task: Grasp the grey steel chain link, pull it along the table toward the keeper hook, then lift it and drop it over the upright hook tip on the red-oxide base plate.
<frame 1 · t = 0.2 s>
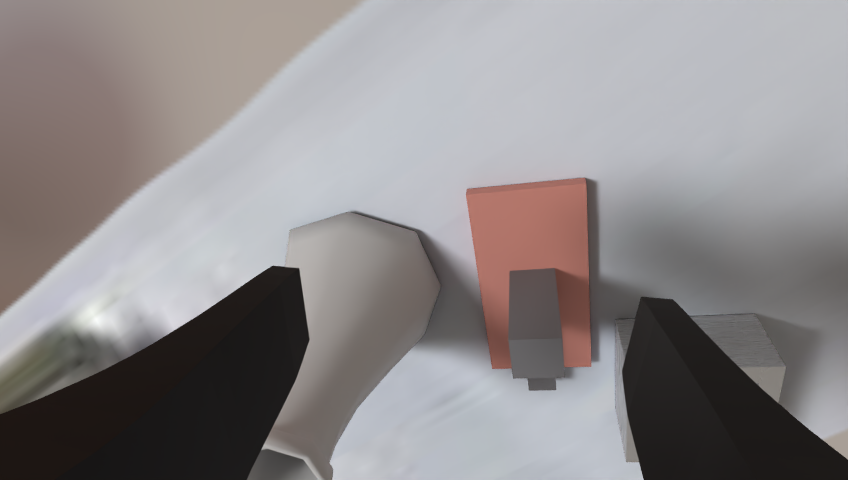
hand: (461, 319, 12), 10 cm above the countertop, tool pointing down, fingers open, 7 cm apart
link: (679, 364, 24), on the countertop
keeper hook: (533, 280, 23), on the countertop
flask: (362, 277, 24), on the countertop
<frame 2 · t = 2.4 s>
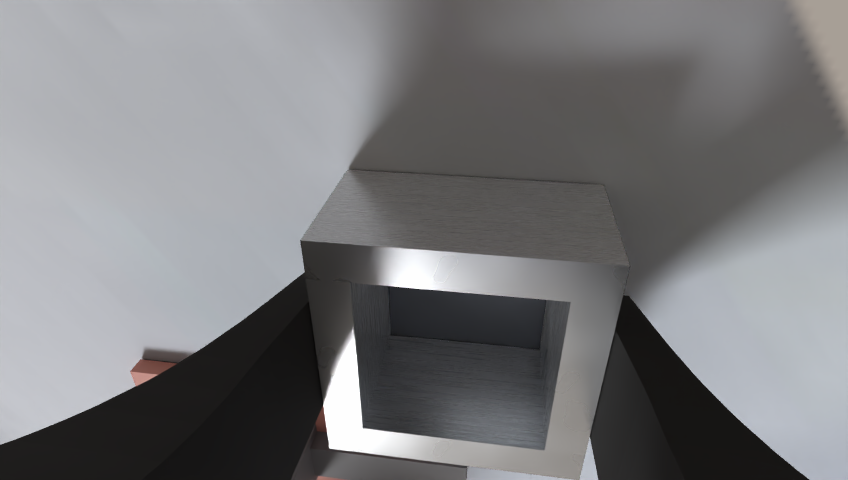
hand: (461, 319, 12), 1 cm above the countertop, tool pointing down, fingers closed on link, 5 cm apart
link: (466, 281, 13), on the countertop, touching gripper
keeper hook: (295, 427, 16), on the countertop
when the fingers open (4 cm above the countertop, at t = 6.6 s): link drops 1 cm, resting on keeper hook.
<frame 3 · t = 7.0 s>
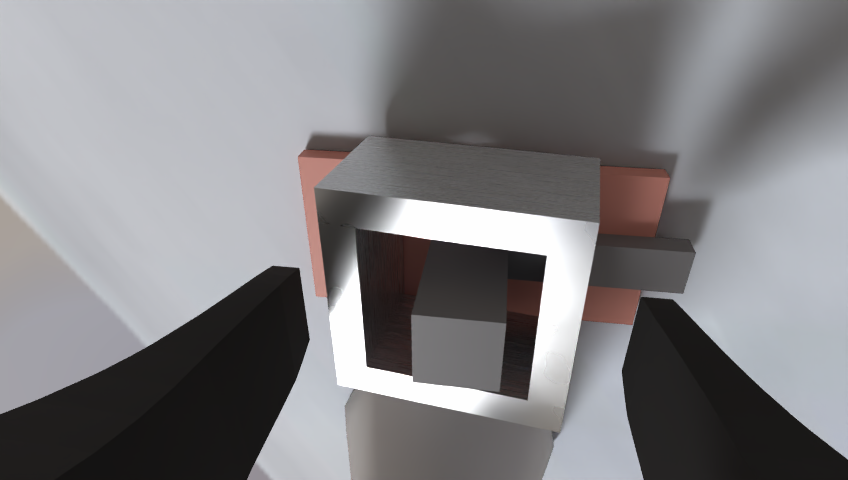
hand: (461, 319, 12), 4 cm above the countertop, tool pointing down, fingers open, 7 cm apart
link: (473, 246, 14), point 1 cm above the countertop, tilted 7°, touching keeper hook
keeper hook: (473, 234, 15), on the countertop
flask: (449, 414, 19), on the countertop
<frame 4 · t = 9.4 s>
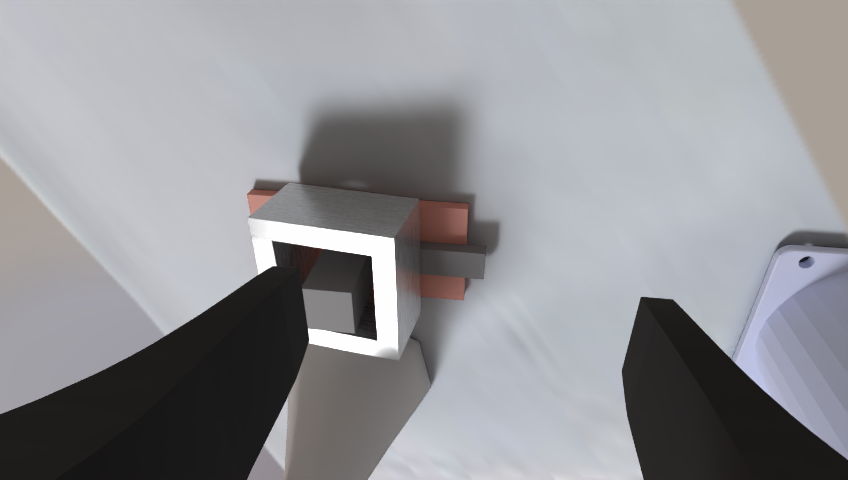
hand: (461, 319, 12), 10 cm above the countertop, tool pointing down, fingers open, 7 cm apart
link: (357, 249, 22), point 1 cm above the countertop, tilted 7°, touching keeper hook
keeper hook: (360, 242, 23), on the countertop
flask: (361, 366, 27), on the countertop
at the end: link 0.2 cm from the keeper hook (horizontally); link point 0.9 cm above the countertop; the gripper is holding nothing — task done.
